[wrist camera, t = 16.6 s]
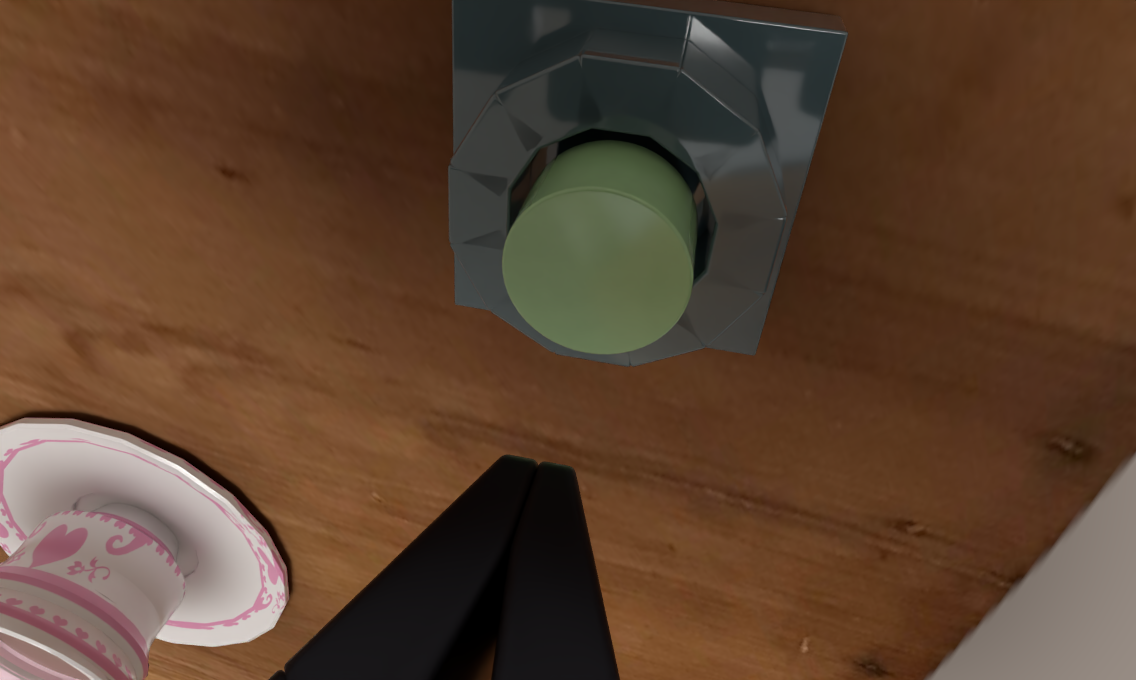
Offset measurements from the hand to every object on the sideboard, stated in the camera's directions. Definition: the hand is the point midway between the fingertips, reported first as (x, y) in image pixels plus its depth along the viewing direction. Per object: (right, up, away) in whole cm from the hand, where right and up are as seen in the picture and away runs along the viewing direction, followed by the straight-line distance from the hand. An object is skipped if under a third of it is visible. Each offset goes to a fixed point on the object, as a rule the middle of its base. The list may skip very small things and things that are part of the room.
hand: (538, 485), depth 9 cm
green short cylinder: (+1, +4, +5) cm, 7 cm away
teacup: (-15, -5, +19) cm, 25 cm away
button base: (+2, +5, +7) cm, 9 cm away
